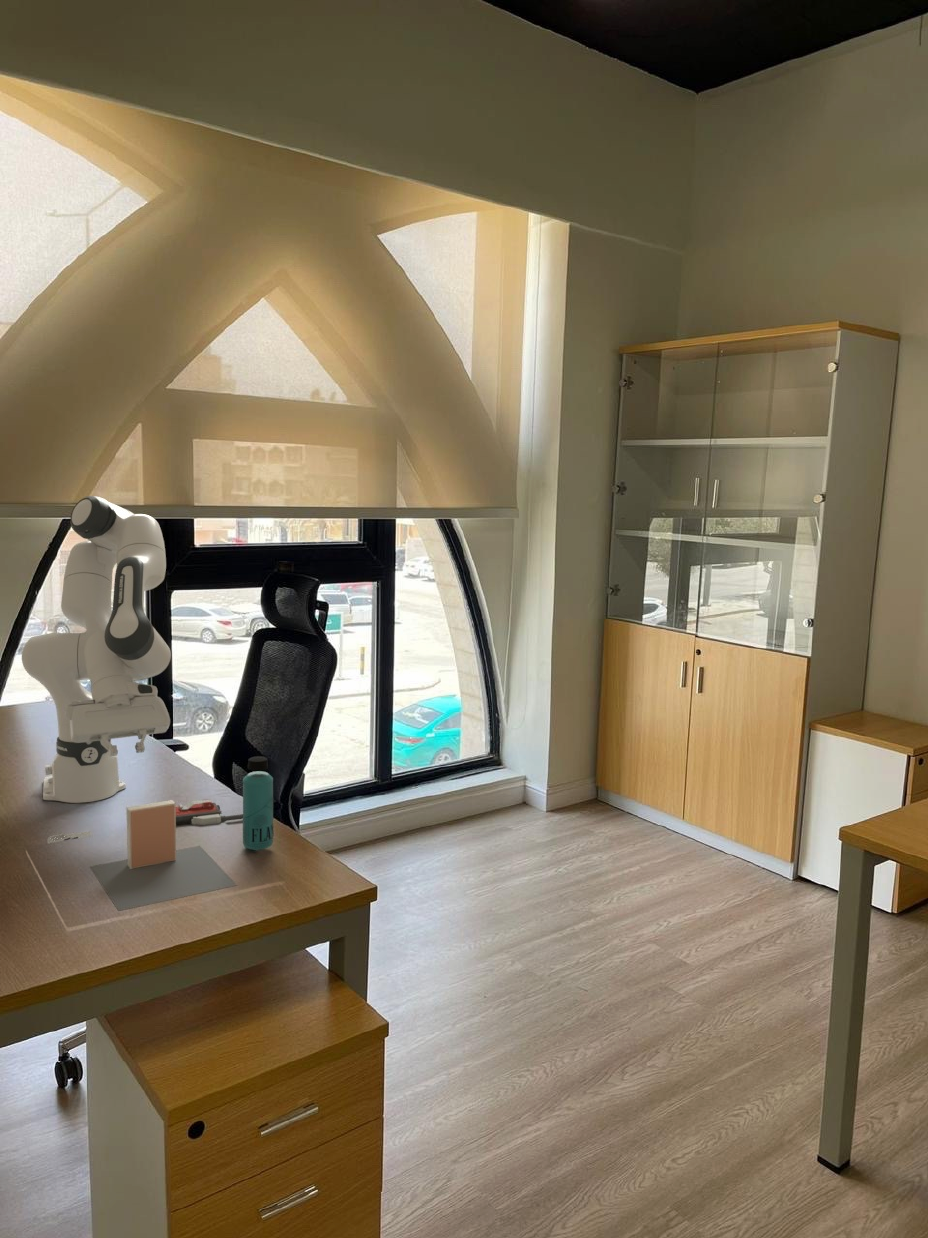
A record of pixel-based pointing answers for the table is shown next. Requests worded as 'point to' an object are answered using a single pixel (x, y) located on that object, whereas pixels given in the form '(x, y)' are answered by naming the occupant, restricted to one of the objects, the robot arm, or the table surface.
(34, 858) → the table surface
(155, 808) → the block
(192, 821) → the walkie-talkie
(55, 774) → the robot arm
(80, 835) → the handheld gaming device
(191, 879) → the mat
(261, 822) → the beverage bottle
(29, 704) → the table surface
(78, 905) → the table surface
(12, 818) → the table surface
